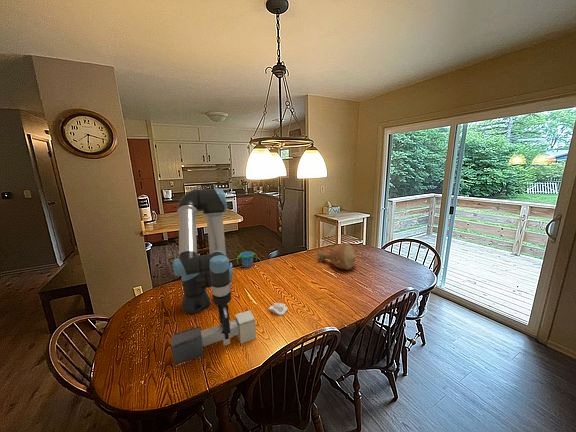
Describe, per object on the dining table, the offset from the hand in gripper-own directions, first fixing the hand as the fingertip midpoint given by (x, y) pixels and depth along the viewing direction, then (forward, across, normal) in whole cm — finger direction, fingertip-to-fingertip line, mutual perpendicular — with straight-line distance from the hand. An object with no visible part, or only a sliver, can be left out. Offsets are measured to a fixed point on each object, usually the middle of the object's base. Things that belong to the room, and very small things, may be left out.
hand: (225, 339), depth 103 cm
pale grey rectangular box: (-2, 0, +2) cm, 3 cm away
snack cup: (+2, +73, -31) cm, 79 cm away
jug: (+2, +42, -93) cm, 102 cm away
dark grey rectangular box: (+1, 0, +15) cm, 15 cm away
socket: (+1, 0, -9) cm, 9 cm away
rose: (+2, +11, -30) cm, 32 cm away
